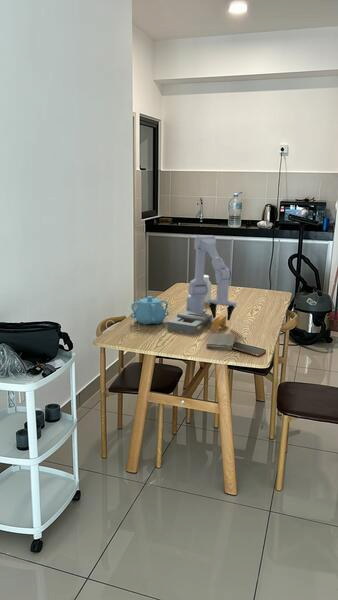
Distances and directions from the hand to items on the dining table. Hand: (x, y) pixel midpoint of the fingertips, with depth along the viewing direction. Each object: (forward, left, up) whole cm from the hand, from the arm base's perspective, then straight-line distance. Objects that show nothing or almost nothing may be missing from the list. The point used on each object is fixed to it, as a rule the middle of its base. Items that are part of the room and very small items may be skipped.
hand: (221, 319), depth 239 cm
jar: (-29, +44, -4) cm, 53 cm away
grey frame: (-14, -7, -4) cm, 16 cm away
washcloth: (+9, -24, -5) cm, 26 cm away
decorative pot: (-35, -11, -4) cm, 37 cm away
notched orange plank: (0, -3, -4) cm, 5 cm away
